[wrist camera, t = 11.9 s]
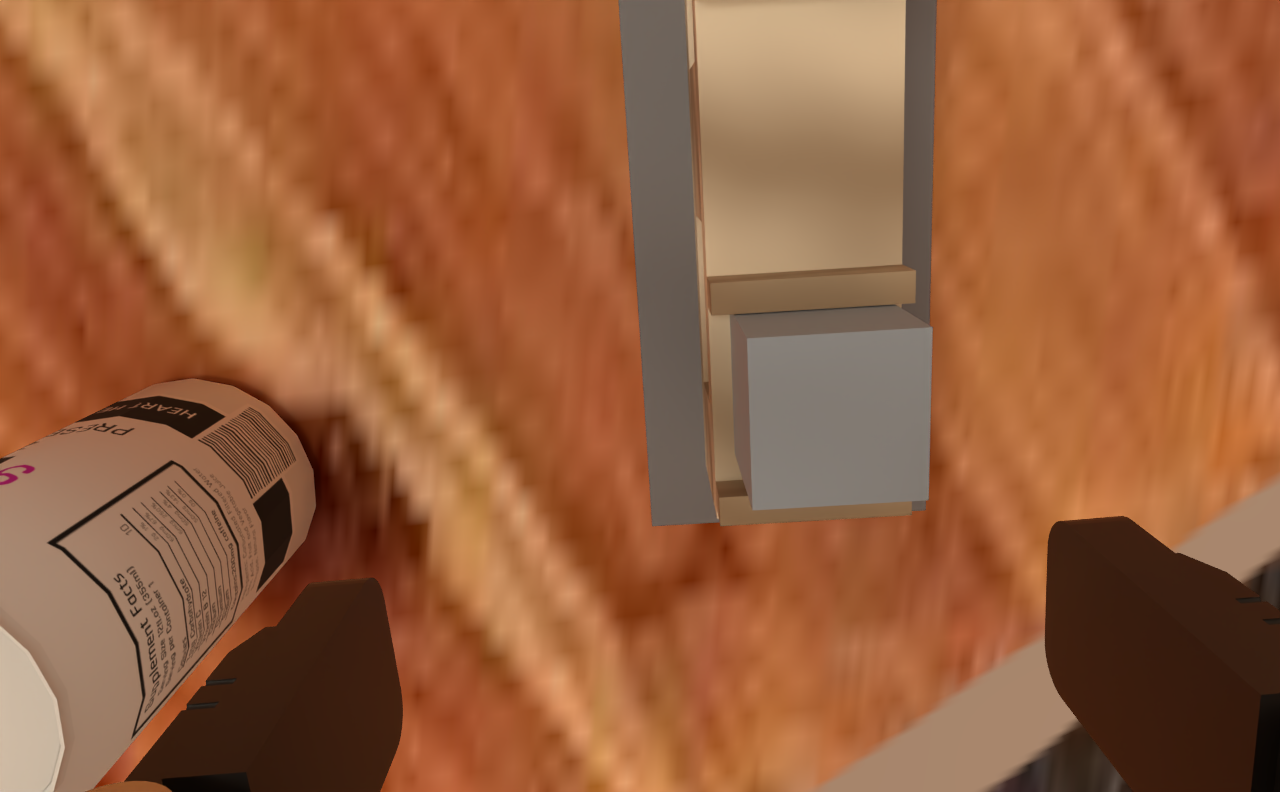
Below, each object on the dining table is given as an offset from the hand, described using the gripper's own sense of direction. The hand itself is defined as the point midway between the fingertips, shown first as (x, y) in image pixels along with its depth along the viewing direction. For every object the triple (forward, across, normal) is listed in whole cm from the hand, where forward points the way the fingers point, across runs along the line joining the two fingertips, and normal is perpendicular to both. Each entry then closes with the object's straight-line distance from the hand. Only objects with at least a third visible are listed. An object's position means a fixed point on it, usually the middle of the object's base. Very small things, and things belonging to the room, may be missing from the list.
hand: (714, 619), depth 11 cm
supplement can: (+23, +18, +5) cm, 29 cm away
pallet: (+18, -4, -5) cm, 19 cm away
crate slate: (+14, -4, +1) cm, 14 cm away
